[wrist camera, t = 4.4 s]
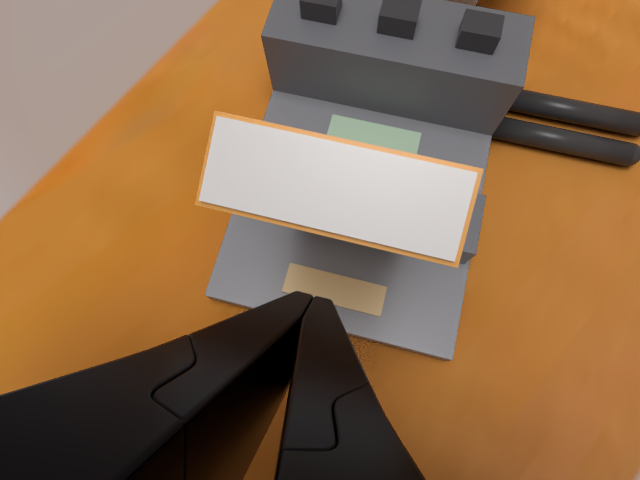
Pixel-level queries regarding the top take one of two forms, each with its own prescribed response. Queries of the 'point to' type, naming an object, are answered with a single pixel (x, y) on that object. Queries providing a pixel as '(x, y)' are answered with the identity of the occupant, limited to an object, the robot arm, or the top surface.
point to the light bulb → (466, 2)
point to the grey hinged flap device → (398, 148)
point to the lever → (339, 188)
